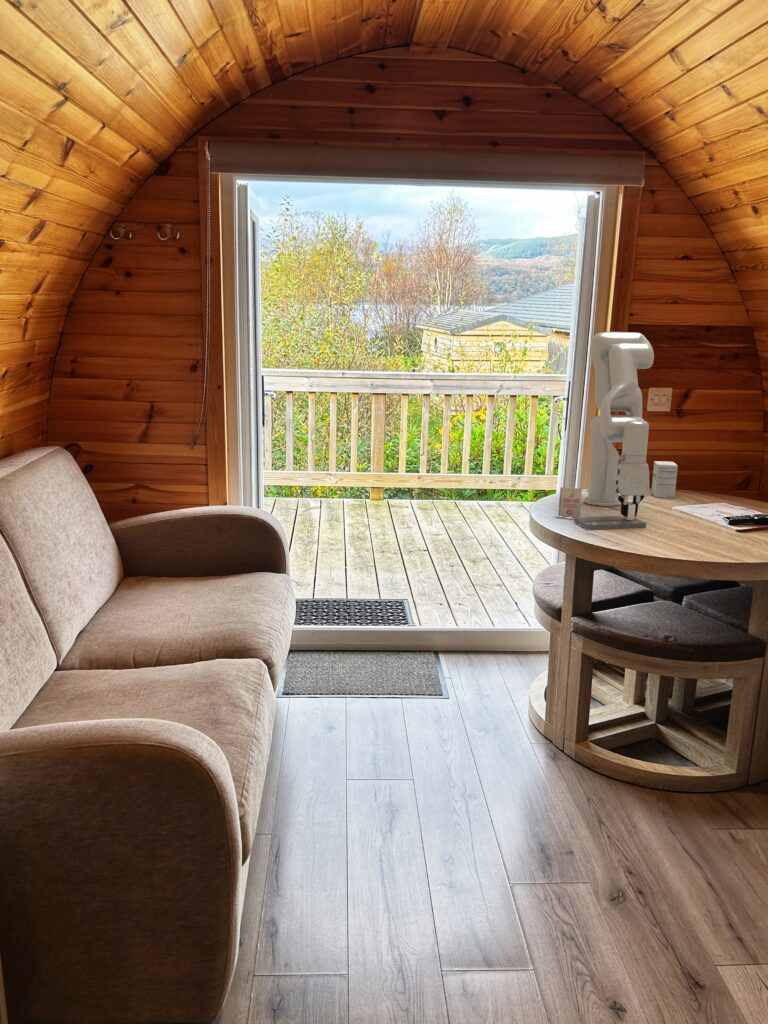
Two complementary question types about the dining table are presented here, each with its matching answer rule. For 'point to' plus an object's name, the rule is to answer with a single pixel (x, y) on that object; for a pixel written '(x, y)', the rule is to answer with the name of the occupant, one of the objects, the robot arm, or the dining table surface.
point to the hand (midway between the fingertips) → (628, 515)
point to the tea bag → (570, 502)
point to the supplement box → (664, 479)
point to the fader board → (609, 522)
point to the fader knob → (630, 511)
